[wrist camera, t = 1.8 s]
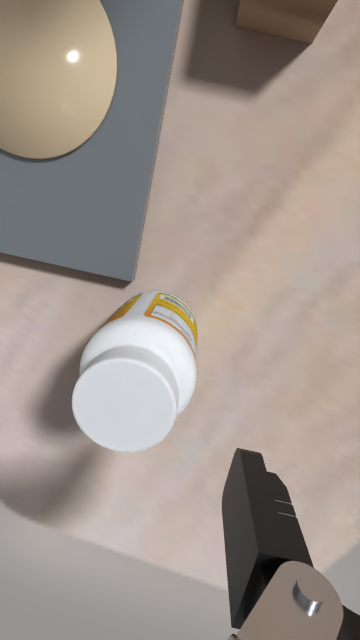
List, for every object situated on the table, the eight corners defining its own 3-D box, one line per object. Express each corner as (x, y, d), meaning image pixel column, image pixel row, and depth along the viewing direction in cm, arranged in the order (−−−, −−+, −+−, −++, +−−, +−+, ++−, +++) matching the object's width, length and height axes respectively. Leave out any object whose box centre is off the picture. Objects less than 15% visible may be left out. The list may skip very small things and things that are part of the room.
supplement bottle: (120, 369, 23) (63, 470, 13) (111, 291, 21) (39, 343, 12) (199, 367, 22) (198, 469, 13) (195, 287, 21) (191, 337, 11)
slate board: (-88, -209, 15) (-114, -248, 14) (208, -144, 15) (209, -177, 14) (-84, 230, 21) (-102, 230, 20) (134, 279, 21) (130, 282, 20)
